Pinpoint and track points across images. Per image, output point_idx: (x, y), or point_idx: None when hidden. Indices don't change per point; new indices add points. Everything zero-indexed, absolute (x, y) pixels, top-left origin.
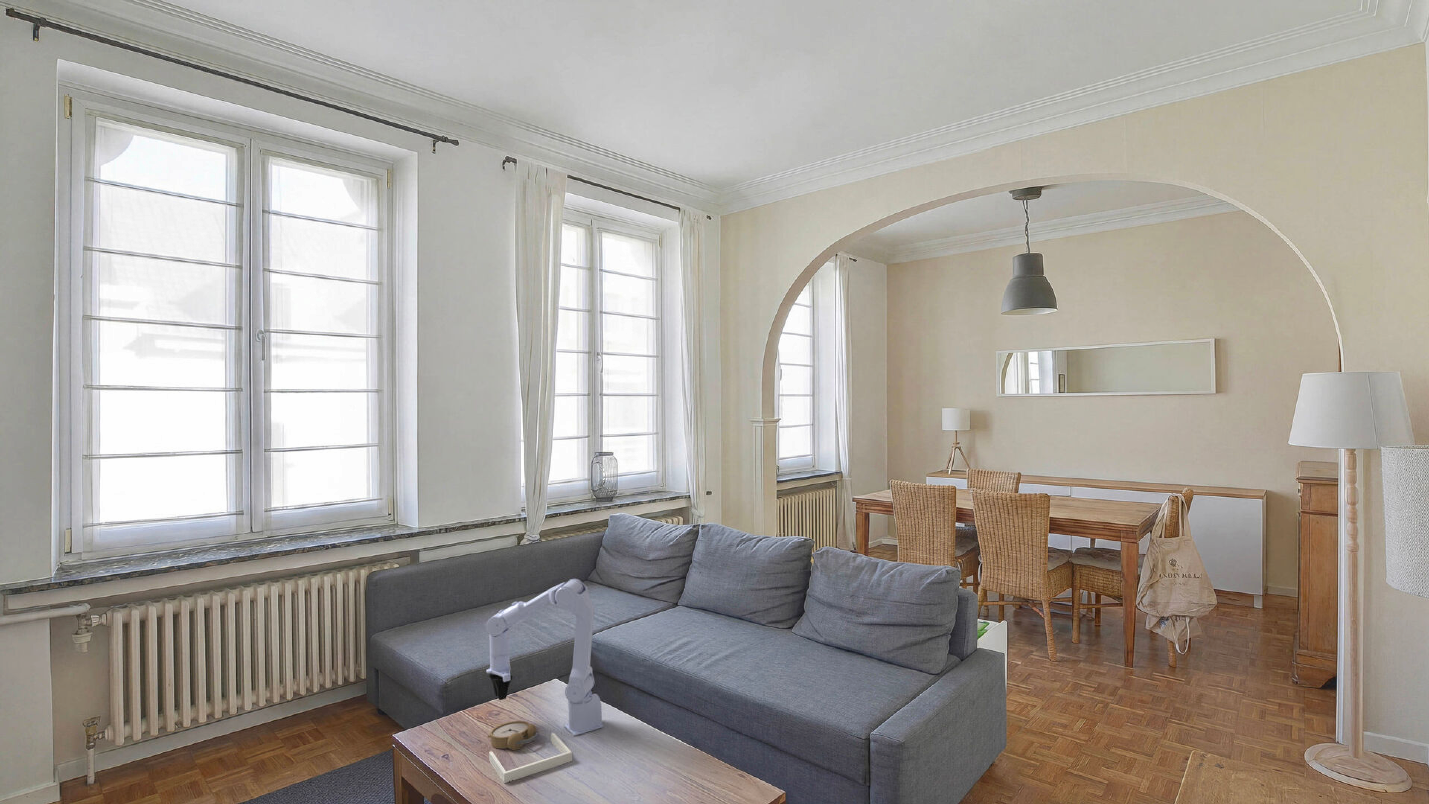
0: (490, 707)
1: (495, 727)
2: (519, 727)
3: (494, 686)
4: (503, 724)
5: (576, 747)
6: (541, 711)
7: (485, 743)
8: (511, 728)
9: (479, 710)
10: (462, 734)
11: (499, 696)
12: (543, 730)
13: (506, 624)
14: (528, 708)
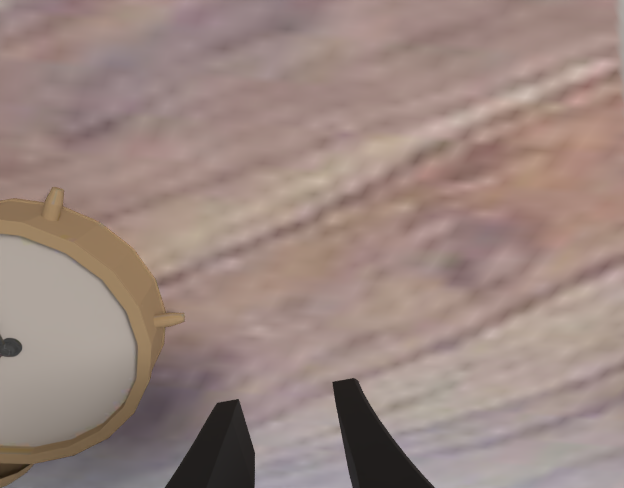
0: (588, 240)
1: (94, 261)
2: (39, 401)
3: (357, 470)
4: (129, 315)
5: None
6: None
7: (38, 164)
8: (46, 356)
9: (593, 167)
10: (251, 7)
11: (201, 439)
12: (117, 464)
13: None
14: (430, 425)
